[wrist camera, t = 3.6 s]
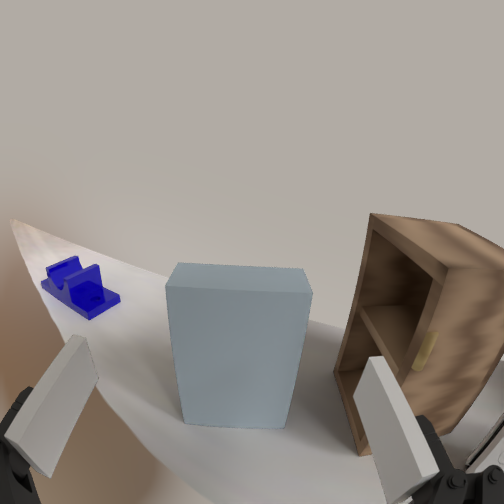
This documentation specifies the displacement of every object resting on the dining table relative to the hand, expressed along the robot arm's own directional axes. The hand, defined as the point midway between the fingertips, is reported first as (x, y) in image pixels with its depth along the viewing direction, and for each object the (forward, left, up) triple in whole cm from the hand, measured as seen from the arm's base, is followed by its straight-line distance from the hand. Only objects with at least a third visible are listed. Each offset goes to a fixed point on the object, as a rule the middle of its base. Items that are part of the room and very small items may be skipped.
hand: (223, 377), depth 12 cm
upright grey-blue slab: (0, -10, -16) cm, 19 cm away
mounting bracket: (+30, -31, -16) cm, 46 cm away
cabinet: (-18, -10, -16) cm, 26 cm away
